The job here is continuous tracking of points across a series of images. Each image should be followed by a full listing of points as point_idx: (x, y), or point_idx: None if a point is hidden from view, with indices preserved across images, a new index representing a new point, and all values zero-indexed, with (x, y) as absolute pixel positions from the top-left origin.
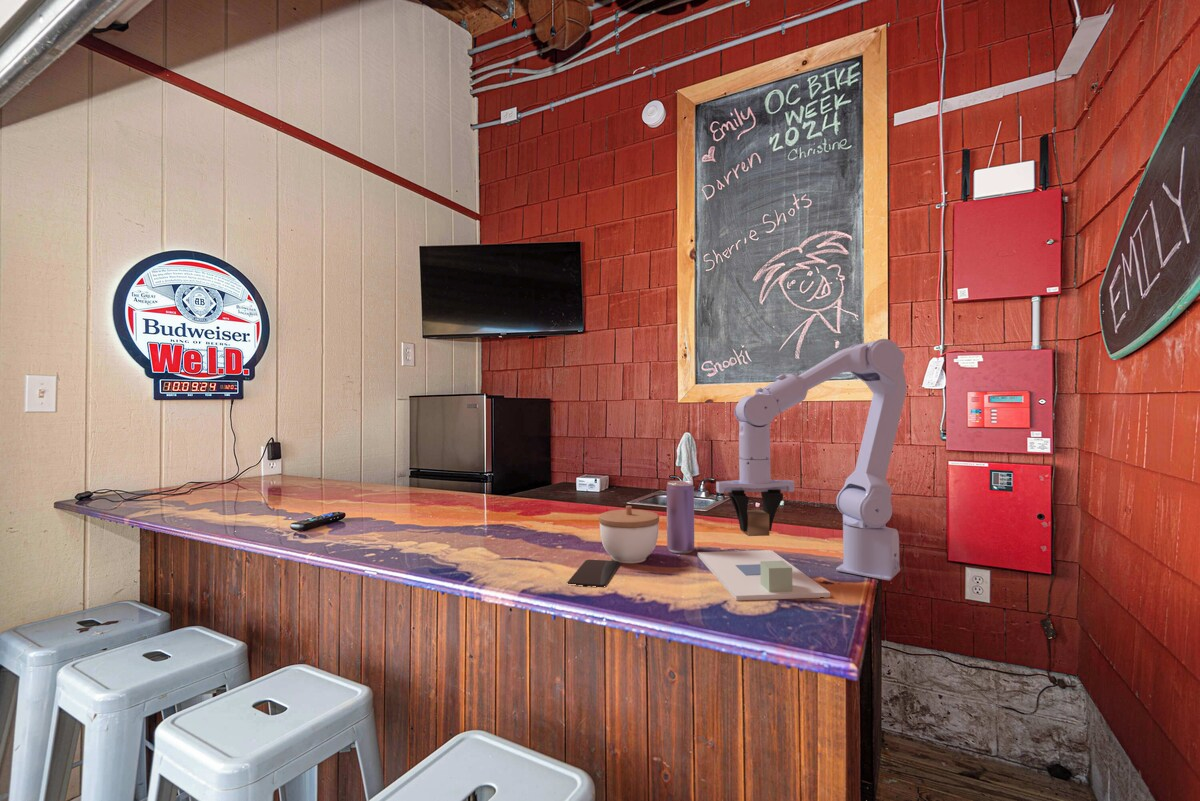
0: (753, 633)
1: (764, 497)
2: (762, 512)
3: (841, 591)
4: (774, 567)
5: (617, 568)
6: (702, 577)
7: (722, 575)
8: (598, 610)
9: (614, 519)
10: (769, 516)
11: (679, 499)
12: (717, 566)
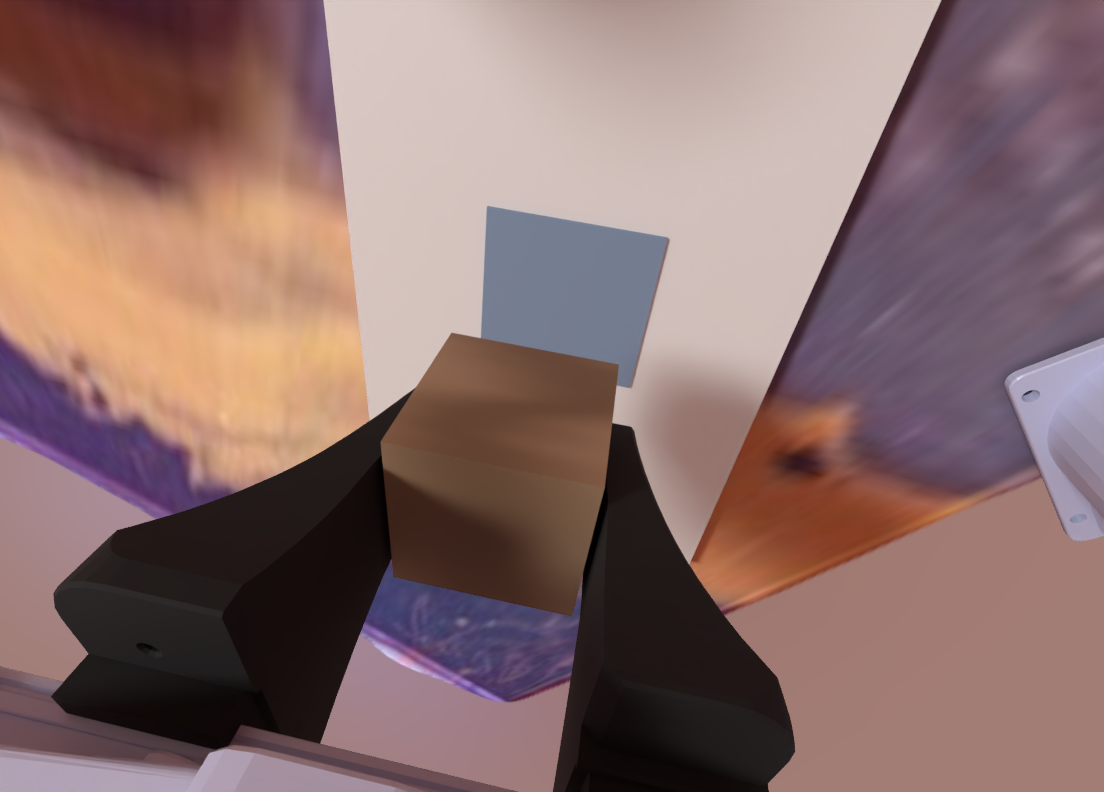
0: (375, 614)
1: (585, 678)
2: (552, 560)
3: (770, 534)
4: None
5: None
6: (303, 263)
7: (377, 330)
8: (5, 433)
9: None
10: (583, 591)
11: None
12: (383, 192)
